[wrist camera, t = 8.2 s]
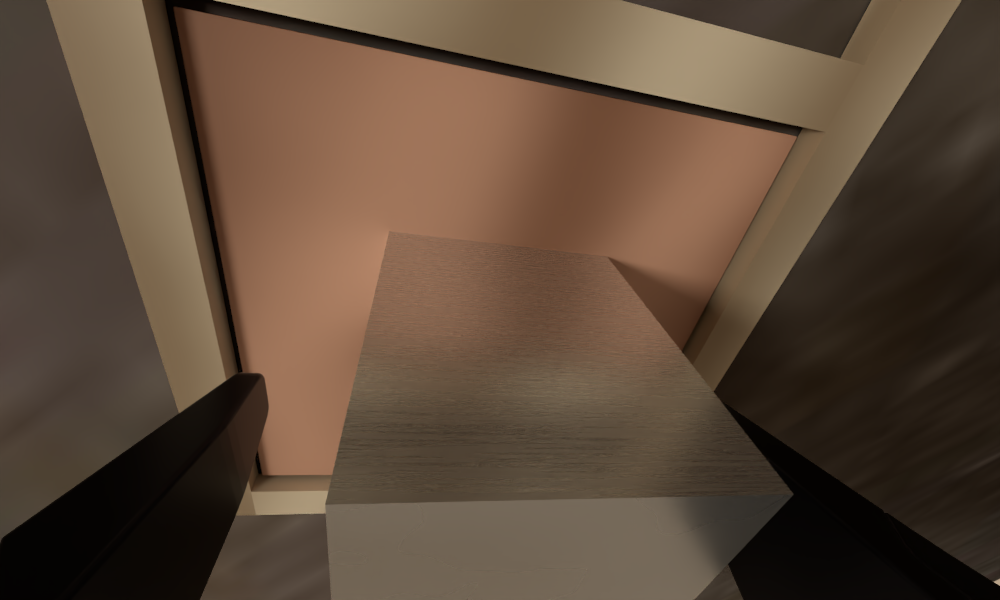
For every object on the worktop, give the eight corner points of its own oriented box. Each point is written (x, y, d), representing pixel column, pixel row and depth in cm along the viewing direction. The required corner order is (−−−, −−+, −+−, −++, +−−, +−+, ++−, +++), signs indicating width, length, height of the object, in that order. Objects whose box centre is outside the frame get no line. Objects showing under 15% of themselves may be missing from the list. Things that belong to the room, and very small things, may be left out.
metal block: (606, 256, 10) (794, 494, 5) (553, 404, 12) (636, 660, 7) (388, 231, 9) (325, 504, 4) (381, 399, 11) (338, 695, 6)
